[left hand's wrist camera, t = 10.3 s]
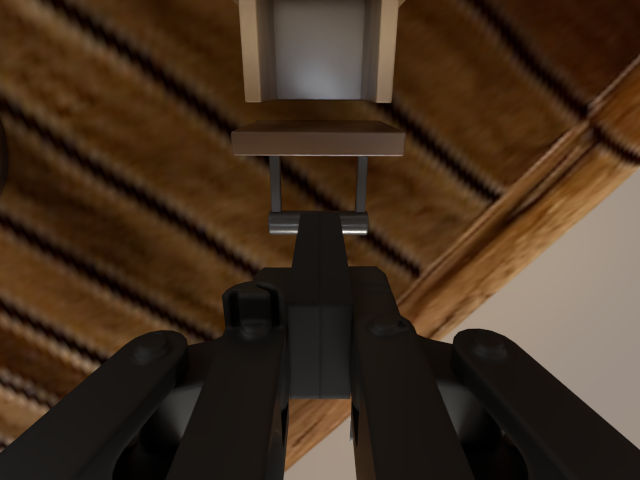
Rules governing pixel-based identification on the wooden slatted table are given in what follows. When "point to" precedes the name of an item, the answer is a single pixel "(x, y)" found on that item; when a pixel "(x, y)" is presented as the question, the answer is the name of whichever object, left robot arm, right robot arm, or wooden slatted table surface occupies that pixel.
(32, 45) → the wooden slatted table surface
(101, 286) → the wooden slatted table surface
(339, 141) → the drawer
